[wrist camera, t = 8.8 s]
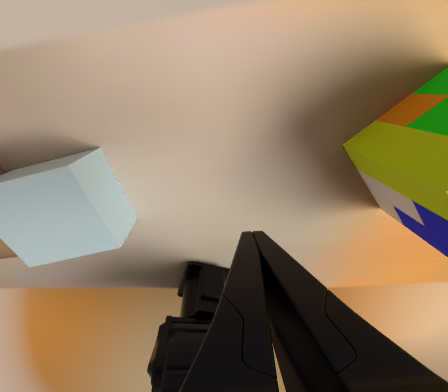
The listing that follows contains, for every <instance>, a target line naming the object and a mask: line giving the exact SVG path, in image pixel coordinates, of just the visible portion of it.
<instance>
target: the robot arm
mask: <svg viewBox="0 0 448 392" xmlns="http://www.w3.org/2000/svg"><path fill="white" fill-rule="evenodd" d="M178 296H180V297H183V299H182V305H181V313H180V317H172V316H167V317H166V321H165V323H163V324H162V325H160V327H159V331H158V336H157V340H156V344H155V347H154V350H153V353H152V356H151V359H150V361H149V365H148V369H147V372H148V374H149V376H150V378H151V385H152V392H279V389H278V382H277V375H276V368H275V360H274V353H273V346H274V350H275V354H276V357H277V361H278V365H279V368H280V371H281V375H282V379H283V382H284V385H285V390H286V392H448V382H447V381H446V380H444V379H442V378H441V377H440V376H438V375H436V374H435V373H434V372H432V371H431V370H430V369H428V368H427V367H426V366H424V365H423V364H421V363H420V362H419V361H418V360H416V359H415V358H414V357H412V356H411V355H410V354H408V353H407V352H406V351H404V350H403V349H402V348H401V347H399V346H398V345H397V344H395V343H394V342H393V341H391V340H390V339H389V338H387V337H386V336H385V335H383V334H382V333H381V332H380V331H378V330H377V329H376V328H374V327H373V326H371V325H370V324H369V323H368V322H366V321H365V320H364V319H363V318H362V317H360V316H359V315H358V314H357V313H355V312H354V311H353V310H352V309H351V308H349V307H348V306H347V305H346V304H345V303H343V302H342V301H341V300H340V299H339V298H337V297H336V296H335V295H334V294H333V293H332V292H331V291H330V290H327V288H326V287H325V286H324V285H323V284H322V283H321V282H319V281H318V280H317V279H316V278H315V277H314V276H313V275H312V274H310V273H309V272H308V271H307V270H306V269H305V268H304V267H303V266H301V265H300V264H299V263H298V262H297V261H296V260H295V259H294V258H292V257H291V256H290V255H289V254H288V253H287V252H286V251H285V250H283V249H282V248H281V247H280V246H279V245H278V244H277V243H276V242H274V241H273V240H272V239H271V238H270V237H269V236H268V235H267V234H265V233H264V232H263V231H253V232H251V231H245V232H242V233H241V236H240V240H239V243H238V246H237V249H236V252H235V255H234V258H233V261H232V264H231V267H230V269H225V268H220V267H215V266H210V265H205V264H200V263H195V262H189V263H188V264H187V267H186V270H185V273H184V275H183V278H182V281H181V284H180V287H179V290H178ZM272 343H273V346H272Z"/></svg>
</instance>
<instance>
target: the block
mask: <svg viewBox="0 0 448 392" xmlns="http://www.w3.org/2000/svg"><path fill="white" fill-rule="evenodd" d="M137 218H138V217H137V215H136V213H135V211H134V209H133V207H132V205H131V203H130V202H129V200H128V198H127V196H126V194H125V192H124V190H123V189H122V187H121V185H120V183H119V181H118V179H117V177H116V175H115V174H114V172H113V170H112V168H111V166H110V164H109V162H108V161H107V159H106V157H105V155H104V153H103V151H102V149H101V147H100V148H96V149H93V150H89V151H85V152H81V153H77V154H73V155H69V156H65V157H61V158H57V159H53V160H49V161H46V162H42V163H38V164H34V165H30V166H26V167H22V168H18V169H14V170H11V171H9V172H6V173H4V174H1V175H0V239H1V240H3V241H4V242H5V243H6V244H7V245H8V246H9V247H10V248H11V249H12V250H13V251H14V252H15V253H16V254H17V255H18V256H19V257H20V258H21V259H22V260H23V261H24V262H25V263H26V264H27V265H28V266H29V267H34V266H39V265H43V264H48V263H53V262H57V261H62V260H66V259H71V258H75V257H80V256H85V255H89V254H94V253H98V252H103V251H107V250H112V249H117V248H121V246H122V244H123V243H124V241H125V239H126V237H127V236H128V234H129V232H130V230H131V229H132V227H133V225H134V223H135V221H136V220H137Z"/></svg>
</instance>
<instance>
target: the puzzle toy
mask: <svg viewBox="0 0 448 392" xmlns="http://www.w3.org/2000/svg"><path fill="white" fill-rule="evenodd" d="M343 147H344V148H345V150H346V152H347V153H348V155H349V157H350V158H351V160H352V162H353V163H354V165H355V167H356V168H357V170H358V172H359V173H360V175H361V177H362V178H363V180H364V182H365V183H366V185H367V187H368V188H369V190H370V192H371V193H372V195H373V197H374V198H375V200H376V202H377V203H378V205H379V207H380V208H381V209H382V210H383V211H385V212H386V213H388V214H389V215H390V216H392V217H393V218H394V219H396V220H397V221H399V222H400V223H401V224H403V225H404V226H406V227H407V228H408V229H410V230H411V231H412V232H414V233H415V234H417V235H418V236H419V237H421V238H422V239H423V240H425V241H426V242H428V243H429V244H430V245H432V246H433V247H434V248H436V249H437V250H439V251H440V252H441V253H443V254H444V255H445V256H447V257H448V67H446V68H445V69H444V70H442V71H441V72H440V73H438V74H437V75H436V76H434V77H433V78H432V79H430V80H429V81H428V82H426V83H425V84H424V85H422V86H421V87H419V88H418V89H417V90H415V91H414V92H413V93H411V94H410V95H409V96H407V97H406V98H405V99H403V100H402V101H401V102H399V103H398V104H397V105H395V106H394V107H393V108H391V109H390V110H389V111H387V112H386V113H384V114H383V115H382V116H380V117H379V118H378V119H376V120H375V121H374V122H372V123H371V124H370V125H368V126H367V127H366V128H364V129H363V130H362V131H360V132H359V133H358V134H356V135H355V136H354V137H352V138H351V139H349V140H348V141H347V142H345V143H344V144H343Z"/></svg>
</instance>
